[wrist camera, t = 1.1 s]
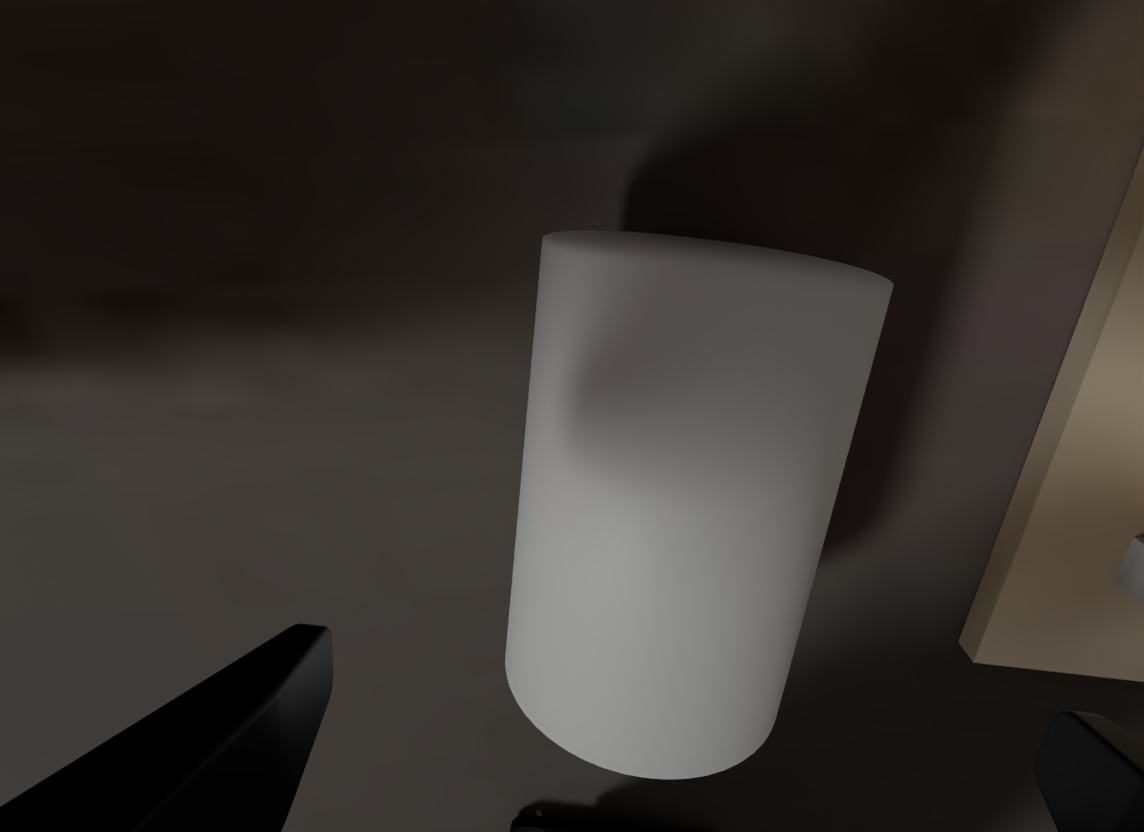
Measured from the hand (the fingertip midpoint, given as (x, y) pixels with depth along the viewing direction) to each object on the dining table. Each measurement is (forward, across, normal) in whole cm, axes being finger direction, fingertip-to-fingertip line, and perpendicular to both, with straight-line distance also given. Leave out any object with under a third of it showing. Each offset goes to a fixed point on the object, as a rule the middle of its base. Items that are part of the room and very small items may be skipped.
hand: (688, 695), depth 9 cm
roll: (+9, 0, 0) cm, 9 cm away
